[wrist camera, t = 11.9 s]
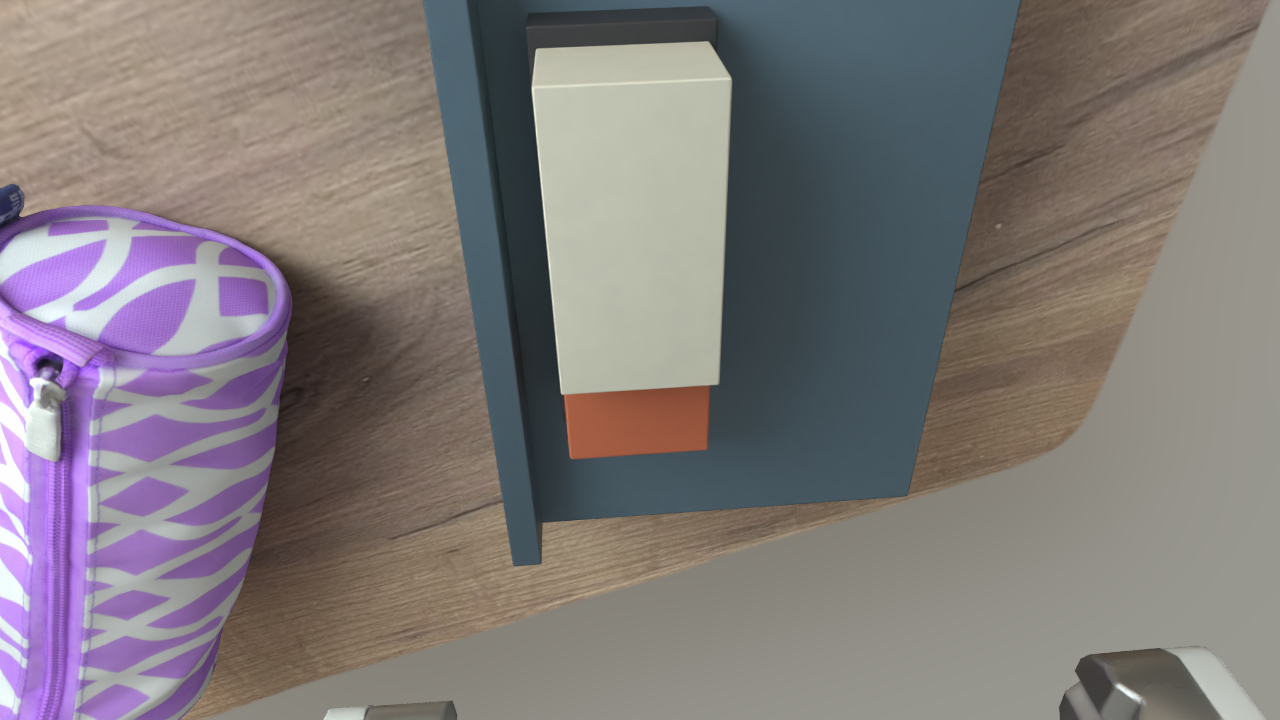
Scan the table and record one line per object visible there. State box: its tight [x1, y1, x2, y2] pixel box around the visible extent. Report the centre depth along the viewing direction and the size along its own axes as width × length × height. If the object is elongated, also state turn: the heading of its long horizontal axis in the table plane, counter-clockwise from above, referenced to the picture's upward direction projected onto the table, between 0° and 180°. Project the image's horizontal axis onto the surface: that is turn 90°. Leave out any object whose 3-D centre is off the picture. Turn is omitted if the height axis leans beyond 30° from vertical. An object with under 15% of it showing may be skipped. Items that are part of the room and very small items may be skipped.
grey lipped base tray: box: [423, 0, 1021, 566], centre depth 26 cm, size 15×24×8 cm, turn 1°
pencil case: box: [0, 184, 292, 720], centre depth 30 cm, size 22×9×9 cm, turn 160°
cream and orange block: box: [525, 6, 732, 459], centre depth 22 cm, size 12×5×5 cm, turn 1°
